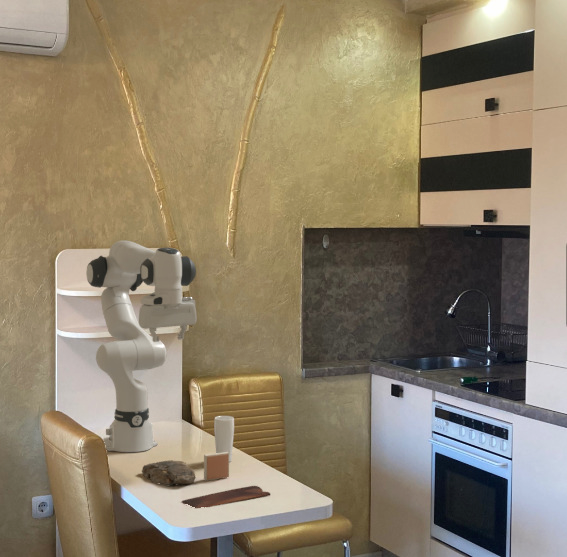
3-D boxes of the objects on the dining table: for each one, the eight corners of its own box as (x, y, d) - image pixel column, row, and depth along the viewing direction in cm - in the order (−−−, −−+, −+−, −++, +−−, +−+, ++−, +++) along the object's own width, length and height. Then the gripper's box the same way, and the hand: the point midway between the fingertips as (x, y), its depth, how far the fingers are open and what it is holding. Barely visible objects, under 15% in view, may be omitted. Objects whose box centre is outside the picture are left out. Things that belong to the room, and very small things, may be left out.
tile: (203, 479, 278) (204, 454, 277) (226, 476, 281) (227, 451, 281) (206, 481, 276) (206, 456, 275) (229, 477, 280) (229, 453, 279)
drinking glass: (212, 459, 301) (212, 416, 300) (231, 457, 303) (231, 415, 302) (216, 464, 294) (216, 420, 293) (236, 463, 296) (236, 419, 295)
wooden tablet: (193, 506, 248) (178, 493, 257) (192, 514, 249) (178, 500, 257) (273, 493, 262) (256, 480, 271) (272, 499, 263) (256, 487, 271)
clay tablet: (204, 485, 272) (180, 468, 290) (204, 470, 272) (180, 453, 289) (162, 493, 266) (140, 474, 283) (162, 477, 265) (139, 459, 283)
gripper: (189, 295, 292) (189, 336, 293) (136, 298, 279) (136, 341, 280) (200, 297, 287) (200, 338, 288) (146, 300, 274) (146, 344, 275)
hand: (168, 340), depth 284 cm, fingers open, 8 cm apart
